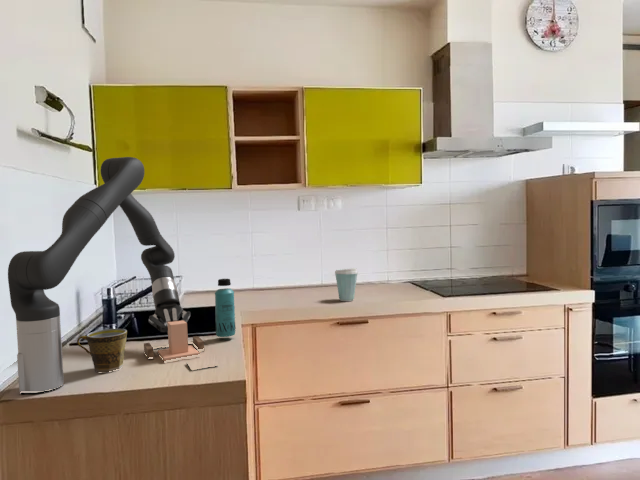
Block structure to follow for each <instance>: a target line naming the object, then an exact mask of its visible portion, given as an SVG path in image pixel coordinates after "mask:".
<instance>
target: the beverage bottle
mask: <svg viewBox="0 0 640 480" xmlns="http://www.w3.org/2000/svg"><path fill="white" fill-rule="evenodd" d="M217 281H218V282H217V286H218V287H226V288H219V289H217V290H215V292H214V301H215V303H214V304H215V310H214V315H215V327H214V328H215V335H216V336H217V338H218V337H219V338H227V337H228V338H229V337H232V336H233V337H234V336H235V335H236V329H237V328H236V317H235V316H236V313H235V310H236V309H235V308H236V306H235V291H234V290H233V289H232V288H227V287H228V286H231V285H232V283H231V279H230V278H219V279H218V280H217Z"/></svg>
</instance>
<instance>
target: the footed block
mask: <svg viewBox="0 0 640 480" xmlns="http://www.w3.org/2000/svg"><path fill="white" fill-rule="evenodd" d="M181 320H182V319H181ZM181 320H178V321H174V322H168V333H167V337H168V338H167V339H168V343H167V344H169V348H163V349H157V354H158V353H159V355H160V356H161V357H162V358H163V360H164V361H166V360H171V359H176V358H181V357H187V356H192V355H198V354H200V355H201V352H199V351H197V350H196V349H195V348H194V347H193V344H191V345H188V341H189V336H188V322H187V323H186V322H185V321H184V320H182V321H181Z"/></svg>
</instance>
